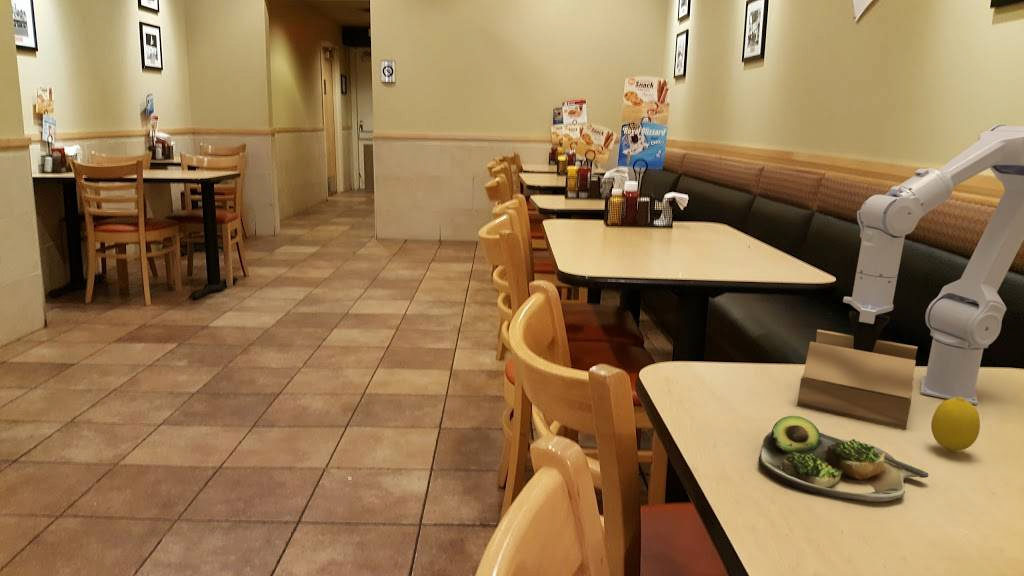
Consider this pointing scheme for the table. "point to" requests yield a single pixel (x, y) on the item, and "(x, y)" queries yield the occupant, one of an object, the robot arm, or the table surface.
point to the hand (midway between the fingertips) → (861, 358)
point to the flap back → (879, 347)
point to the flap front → (860, 369)
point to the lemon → (955, 424)
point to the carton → (854, 402)
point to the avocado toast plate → (830, 462)
